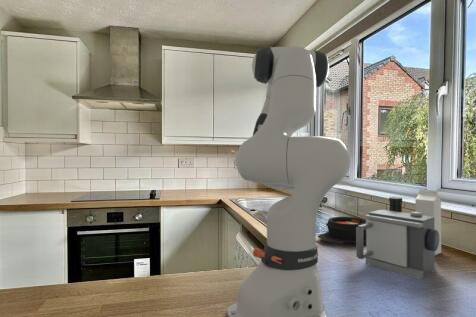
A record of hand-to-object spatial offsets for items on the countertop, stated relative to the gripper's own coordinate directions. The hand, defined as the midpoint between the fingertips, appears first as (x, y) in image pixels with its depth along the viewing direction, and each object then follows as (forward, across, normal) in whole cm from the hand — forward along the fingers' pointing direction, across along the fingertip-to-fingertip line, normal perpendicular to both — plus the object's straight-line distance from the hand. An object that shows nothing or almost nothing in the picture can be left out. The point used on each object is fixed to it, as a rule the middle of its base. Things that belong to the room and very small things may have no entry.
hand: (324, 181), depth 101 cm
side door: (+17, +3, +24) cm, 30 cm away
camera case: (+20, +11, +26) cm, 34 cm away
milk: (+19, +33, +26) cm, 46 cm away
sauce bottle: (+13, +22, +26) cm, 37 cm away
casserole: (-7, +24, +26) cm, 36 cm away
